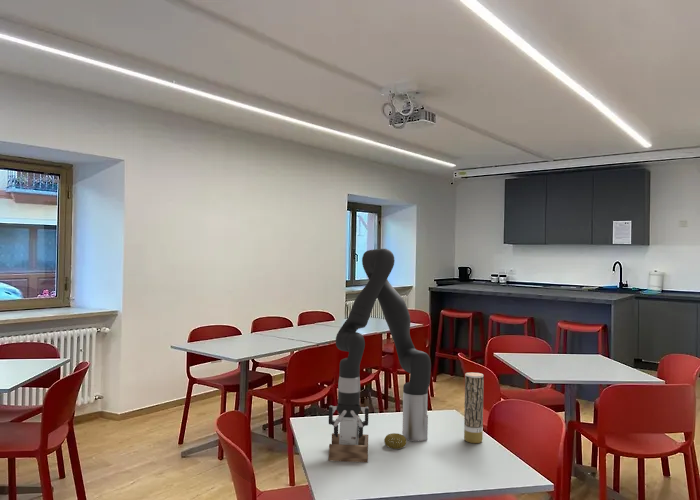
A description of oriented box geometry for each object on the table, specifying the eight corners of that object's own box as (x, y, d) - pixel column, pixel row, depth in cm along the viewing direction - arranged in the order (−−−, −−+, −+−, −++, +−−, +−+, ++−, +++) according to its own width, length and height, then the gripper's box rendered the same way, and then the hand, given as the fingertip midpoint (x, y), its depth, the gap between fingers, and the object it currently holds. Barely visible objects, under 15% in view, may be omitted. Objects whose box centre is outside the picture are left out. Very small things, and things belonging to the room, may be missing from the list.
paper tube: (462, 442, 196) (463, 375, 196) (465, 436, 202) (466, 371, 203) (481, 445, 193) (482, 377, 194) (483, 439, 200) (484, 373, 200)
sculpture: (410, 435, 191) (397, 440, 185) (410, 446, 190) (397, 452, 185) (393, 430, 196) (379, 435, 190) (393, 441, 196) (379, 446, 190)
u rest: (368, 449, 187) (368, 434, 187) (367, 462, 175) (368, 446, 175) (331, 447, 187) (332, 433, 187) (328, 460, 175) (329, 445, 175)
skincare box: (338, 452, 180) (339, 417, 180) (341, 448, 184) (342, 413, 184) (355, 454, 178) (356, 419, 178) (358, 450, 182) (359, 415, 182)
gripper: (369, 387, 185) (369, 434, 184) (329, 386, 185) (328, 432, 185) (369, 392, 177) (368, 441, 177) (327, 391, 178) (326, 440, 178)
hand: (348, 436), depth 181 cm, fingers open, 7 cm apart
